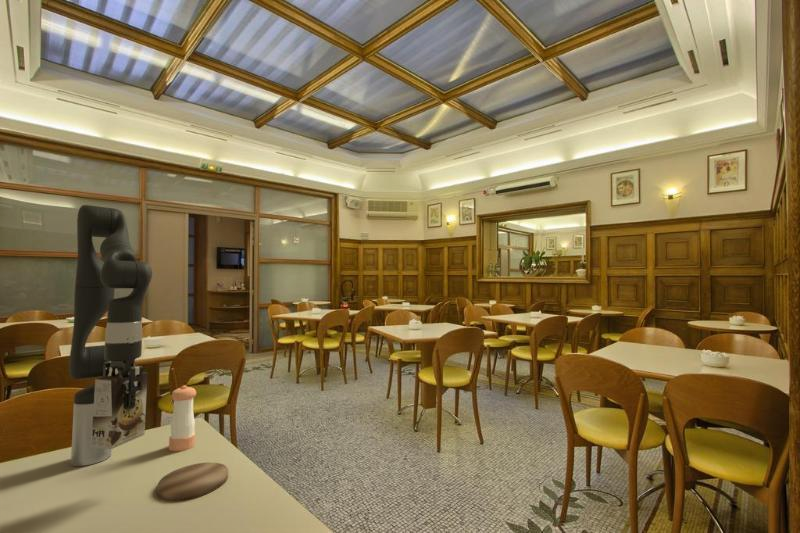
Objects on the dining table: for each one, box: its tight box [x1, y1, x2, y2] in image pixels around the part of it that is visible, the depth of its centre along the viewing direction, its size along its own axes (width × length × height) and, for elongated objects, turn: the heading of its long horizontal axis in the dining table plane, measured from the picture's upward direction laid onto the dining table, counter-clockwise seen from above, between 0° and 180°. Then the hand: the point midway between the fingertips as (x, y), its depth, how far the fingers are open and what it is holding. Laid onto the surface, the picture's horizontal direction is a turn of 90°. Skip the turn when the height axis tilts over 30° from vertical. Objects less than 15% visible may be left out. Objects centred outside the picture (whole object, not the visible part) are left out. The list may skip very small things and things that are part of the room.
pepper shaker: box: [168, 384, 197, 452], centre depth 118 cm, size 7×7×19 cm
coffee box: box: [91, 371, 148, 450], centre depth 92 cm, size 9×6×16 cm
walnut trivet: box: [156, 462, 229, 501], centre depth 95 cm, size 16×16×2 cm
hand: (120, 405), depth 92 cm, fingers closed on coffee box, 7 cm apart
